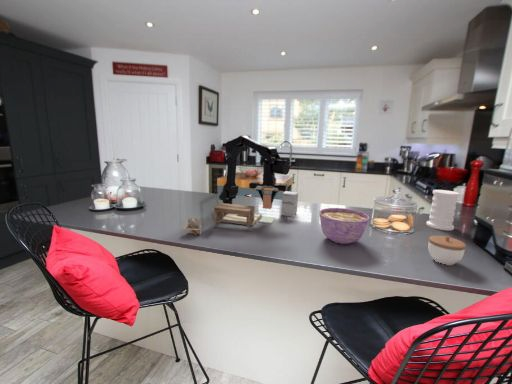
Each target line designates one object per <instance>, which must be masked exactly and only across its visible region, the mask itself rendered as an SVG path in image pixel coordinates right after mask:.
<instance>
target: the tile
mask: <svg viewBox="0 0 512 384" xmlns="http://www.w3.org/2000/svg"><path fill="white" fill-rule="evenodd" d="M274 219H276V217H272V216H265V215H264V216H262V217H261V218H260V219H259V220H258V223H261V224H267V225H268V224H269V225H272V224H273V222H274V221H275V220H274Z"/></svg>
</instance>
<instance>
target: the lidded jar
mask: <svg viewBox="0 0 512 384" xmlns="http://www.w3.org/2000/svg"><path fill="white" fill-rule="evenodd" d="M427 247H428V253H429V255H430V257H431V258H432V260H433V259H434V260H435V262H436V263H438V262H439V263H438V264H440V263H442V264H441V265H444V264H446V266H453V265H454V264H457V263H458V262H460V261H461V259H462V258H463V257H464V254H465V251H466V248H467V245H466V243H465V242H463V241H461V240H459V239H457V238H453V237H450V236H447V235H446V236H445V235H430V236H429V237H428V246H427ZM434 260H433V261H434ZM452 264H453V265H452Z"/></svg>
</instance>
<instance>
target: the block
mask: <svg viewBox="0 0 512 384" xmlns="http://www.w3.org/2000/svg"><path fill="white" fill-rule="evenodd" d="M271 198H272V193H267V192H266V193H265V192H264V194H263V201H262V209H267V210H270V209H272V208H273V203H271Z"/></svg>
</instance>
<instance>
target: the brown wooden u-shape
mask: <svg viewBox="0 0 512 384" xmlns="http://www.w3.org/2000/svg"><path fill="white" fill-rule="evenodd" d="M255 207H256V206H252V205H245V204H244V205H243V204H233V203H232V204H226V203H223V202H221V203H220V204H218V205H216V206H214V207H213V210H214V211H213V218H214V221H213V223H215V224H217V223H219V222H221V219H222V218H224V216H225V214H228V213H231V214H240V215H247V216H246V217H247V222H246V227H247V228H249V227H251V226H252V225H251V224H252V223H253V222H254V213H255Z"/></svg>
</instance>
